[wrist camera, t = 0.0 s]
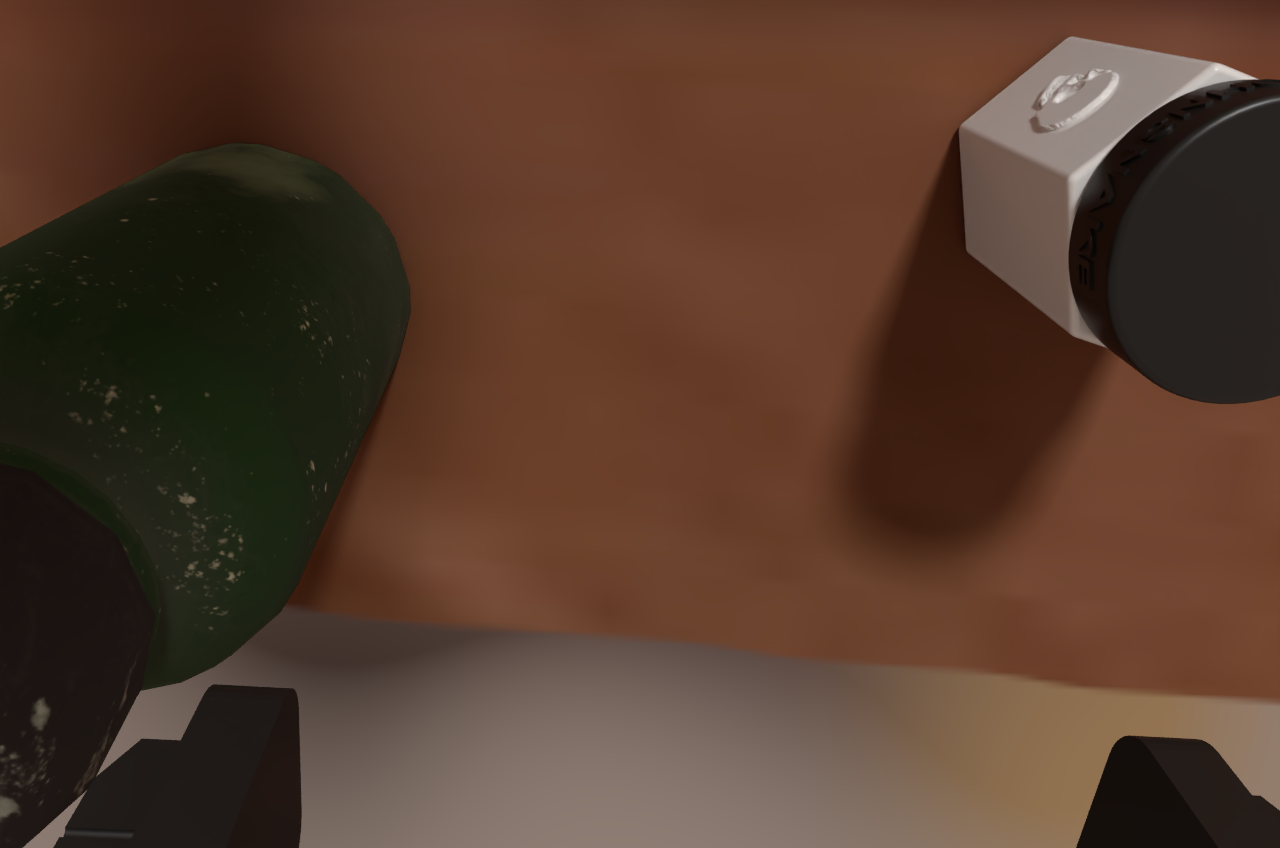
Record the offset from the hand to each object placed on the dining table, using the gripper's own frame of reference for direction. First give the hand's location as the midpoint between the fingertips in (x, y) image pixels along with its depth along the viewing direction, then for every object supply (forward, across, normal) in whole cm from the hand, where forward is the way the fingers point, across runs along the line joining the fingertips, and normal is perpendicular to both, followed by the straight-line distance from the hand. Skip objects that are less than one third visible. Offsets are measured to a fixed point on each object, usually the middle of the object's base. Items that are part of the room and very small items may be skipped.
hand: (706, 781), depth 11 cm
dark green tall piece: (+30, +12, +5) cm, 32 cm away
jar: (+30, -16, -2) cm, 34 cm away
